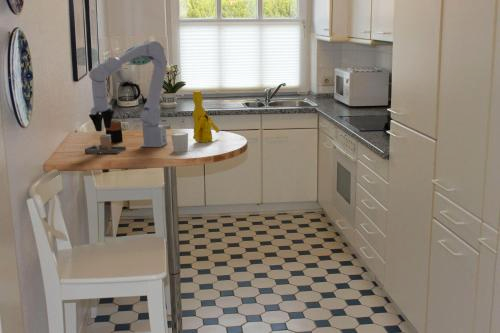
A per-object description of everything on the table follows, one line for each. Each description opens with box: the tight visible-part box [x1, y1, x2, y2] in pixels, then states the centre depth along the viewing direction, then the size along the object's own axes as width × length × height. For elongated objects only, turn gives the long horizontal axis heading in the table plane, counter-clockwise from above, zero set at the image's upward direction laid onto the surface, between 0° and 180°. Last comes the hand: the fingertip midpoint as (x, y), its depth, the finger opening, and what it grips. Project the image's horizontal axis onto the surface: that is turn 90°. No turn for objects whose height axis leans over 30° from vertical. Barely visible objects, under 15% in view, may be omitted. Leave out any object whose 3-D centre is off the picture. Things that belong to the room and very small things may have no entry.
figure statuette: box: [192, 90, 221, 144], centre depth 274 cm, size 18×8×22 cm, turn 145°
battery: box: [105, 119, 124, 144], centre depth 285 cm, size 4×7×10 cm, turn 48°
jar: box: [99, 133, 113, 150], centre depth 263 cm, size 4×4×7 cm
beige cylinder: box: [171, 132, 189, 153], centre depth 258 cm, size 7×7×7 cm
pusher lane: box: [84, 144, 127, 154], centre depth 263 cm, size 15×8×2 cm, turn 75°
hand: (103, 129), depth 261 cm, fingers open, 7 cm apart
